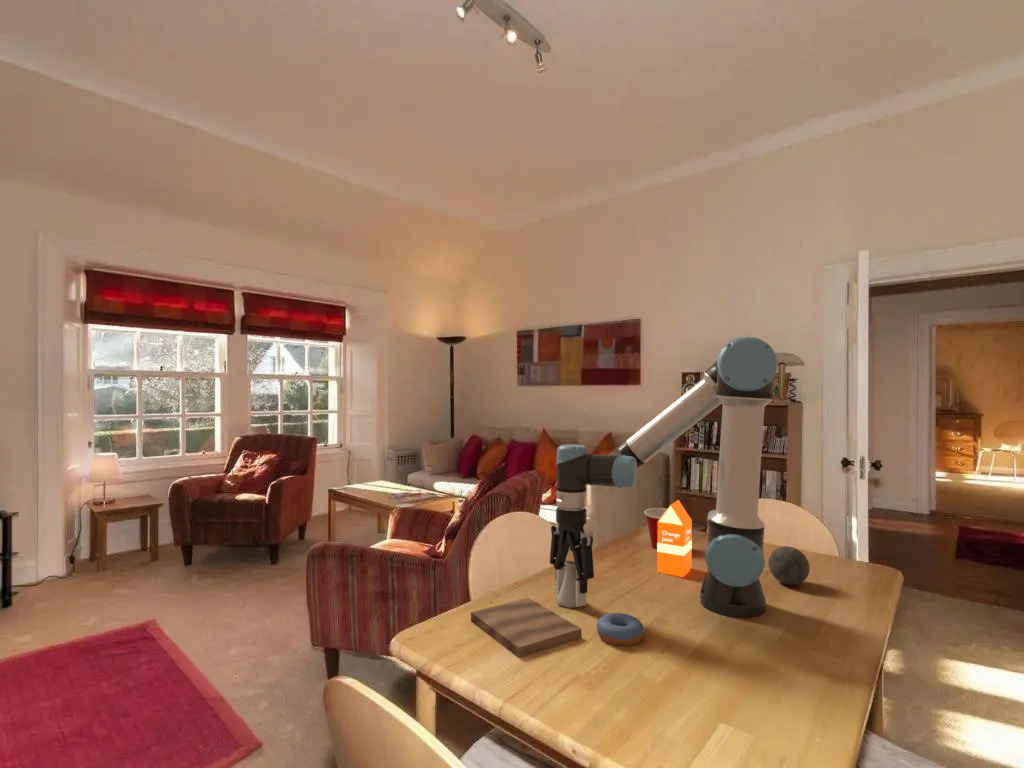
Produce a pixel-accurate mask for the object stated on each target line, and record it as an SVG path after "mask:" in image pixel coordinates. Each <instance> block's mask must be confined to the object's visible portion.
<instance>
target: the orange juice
mask: <svg viewBox="0 0 1024 768" xmlns="http://www.w3.org/2000/svg"><path fill="white" fill-rule="evenodd" d="M666 509H667V510H666V511H665V513H664V514H663V515H662V517H661V518H660V519H659V521H658V543H657V549H656V550H657V551H656V552H657V558H656V559H657V565H656V566H657V571H656V572H657V573H659V572H660V573H659V574H664V575H669V574H670V575H671V576H676V577H679V578H680V577H681V578H684V577H685V576H686V575H687V574H688V573H689V572H690V571H691V570H692V569H691V568H692V563H693V562H692V561H693V559H692V555H693V553H692V548H693V547H692V546H693V540H692V539H693V537H692V536H693V534H692V532H693V531H692V529H693V526H692V525H693V523H692V521H693V519H692V518H691V517H690V515H689V514H688V512H687V511H686V508H684V506H683V505H682V503H681V501H680V500H679V499H677V500H676V501H675V502H673V503H671V504H670V505H669V506H668V508H666ZM690 569H691V570H690Z"/></svg>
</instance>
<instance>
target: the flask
mask: <svg viewBox="0 0 1024 768" xmlns="http://www.w3.org/2000/svg"><path fill="white" fill-rule="evenodd" d="M565 565H566V567H565V568H566V572H565V577H564V580H563V583H562V586H561V589H560V592H559V595H558V596H556V597H557V598H556V603H557V605H558V606H559V607H560V606H561V607H565V608H569V609H570V608H577V607H576V578H578V575H577V570H576V565H575V561H574V560H566V561H565ZM582 607H583V606H580V607H579V608H582Z"/></svg>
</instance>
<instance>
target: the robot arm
mask: <svg viewBox="0 0 1024 768" xmlns="http://www.w3.org/2000/svg"><path fill="white" fill-rule="evenodd" d="M716 359H717V360H715V362H714V363H713V364H712V365H711V366H710V367H708V368H707V369H706V370H705V371H704V372H703V377H702V378H701V379H700V380H699V381H698V382H696V383H695V384H694V385H693V386H692V387H690V388H689V389H687V391H686V392H684V393H683V394H682V395H680V396H679V397H678V398H677V399H676V400H675V401H673V402H671V404H669V405H668V406H667V407H665V409H664V410H662V411H661V412H659V413H658V414H657V415H656V416H655V417H654V418H652V419H651V420H650V421H649V422H647V423H646V424H645V425H644V426H642V427H641V428H640V429H639V430H638V431H636V432H635V433H634V434H632V436H630V437H629V438H628V439H627V440H625V441H624V442H622V443H621V444H620V445H619V446H618V447H616V448H615V449H614V450H613V451H611V452H609V453H608V454H595V453H594V454H593V453H588V449H587V446H586V445H583V444H573V443H571V444H570V443H569V444H561V445H559V446H558V447H557V449H556V463H555V467H556V470H555V472H556V482H555V483H556V488H555V489H556V497H555V499H556V500H555V501H556V502H555V503H556V504H555V505H556V506H557V507H556V509H555V521H556V524H558V525H552V526H551V527H550V531H551V539H550V541H551V542H550V552H549V554H550V555H549V563H550V565H553V568H554V569H555V571H554V573H555V577H554V578H555V595H556V597H558V595H559V592H560V589H561V586H562V583H563V580H564V577H565V572H566V565H565V562H566V561H567V557H568V554H569V550H570V551H571V552H572V555H573V559H574V560H573V561H575V565H576V572H577V578H576V607H575V608H581V607H580V606H582V607H583V606H586V605H587V593H588V581H589V580H590V579H594V578H595V574H594V573H595V572H594V570H595V569H594V557H593V556H594V554H593V542H594V537H593V536H592V535H591V536H587V535H586V534H585V530H584V529H585V528H584V526H585V525H586V524H587V520H588V519H587V518H588V517H587V512H588V511H587V509H586V507H587V506H588V500H587V498H588V494H587V493H588V492H587V489H588V488H587V486H600V487H601V486H602V487H613V488H619V489H621V488H633V487H635V486H636V482H637V479H638V477H637V476H638V470H639V469H640V468H641V467H643V466H644V465H645V464H646V463H647V462H648V461H650V460H651V459H652V458H653V457H655V456H657V454H659V453H660V452H661V451H662V450H664V449H665V448H667V447H668V446H669V445H670V444H671V443H673V442H674V441H676V440H677V439H678V438H679V437H680V436H682V435H683V434H685V433H686V432H687V431H689V430H690V429H691V428H692V427H694V426H695V425H696V424H697V423H699V422H700V421H701V420H703V419H704V418H705V417H707V416H708V415H709V414H710V413H711V412H713V411H714V410H715V409H716V408H717V407H720V406H721V404H722V407H721V408H722V409H721V410H722V411H721V427H720V442H719V443H720V444H719V456H718V458H719V459H718V471H717V472H718V474H717V489H716V490H717V491H716V505H715V509H711V510H709V512H708V513H707V519H706V523H707V532H706V533H707V534H706V549H705V551H704V559H705V563H706V567H707V568H706V569H707V570H706V574H705V576H704V579H703V582H702V585H701V588H700V590H699V602H700V604H701V605H702V606H703V607H704V608H706V609H708V610H710V611H713V612H715V613H718V614H721V615H723V616H724V615H725V616H729V617H730V616H731V617H736V618H754V617H759V616H762V615H764V614H765V613H766V612H767V600H766V597H765V595H764V591H763V588H762V584H761V581H760V578H761V576H762V574H763V572H764V569H765V564H766V559H765V555H764V540H765V539H764V537H765V522H763V520H762V519H761V518H760V517H759V516H758V515H759V514H758V512H759V500H760V499H759V497H760V484H761V483H760V481H761V468H762V453H763V451H762V449H763V436H764V435H763V433H764V422H765V421H764V418H765V408H766V406H767V405H768V404H770V403H771V402H772V401H773V399H774V398H773V397H774V383H775V375H777V374H776V373H777V371H778V357H777V355H776V353H775V350H774V349H773V348H772V347H771V345H770V344H769V343H767V342H766V341H765V340H763V339H761V338H758V337H755V336H754V337H753V336H739V337H735V338H734V339H731V340H730V341H728V342H727V343H726V344H724V345H723V347H721V350H720V351H719V353H718V356H717V358H716Z"/></svg>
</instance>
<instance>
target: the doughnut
mask: <svg viewBox="0 0 1024 768" xmlns="http://www.w3.org/2000/svg"><path fill="white" fill-rule="evenodd" d="M596 629H597V630H596V631H597V634H598V636H599V638H601V640H603V641H604V642H606V643H608V644H609V645H613V646H618V647H631V646H634V645H638V644H639V643H640V642H641V641H643V638H644V635H645V629H644V625H643V623H642V622H641V621H640V620H639V619H638V618H637V617H635V616H633V615H630V614H627V613H621V612H613V613H607V614H604V615H602V616H601V617H600V618H599V619H598V621H597V623H596Z"/></svg>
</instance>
